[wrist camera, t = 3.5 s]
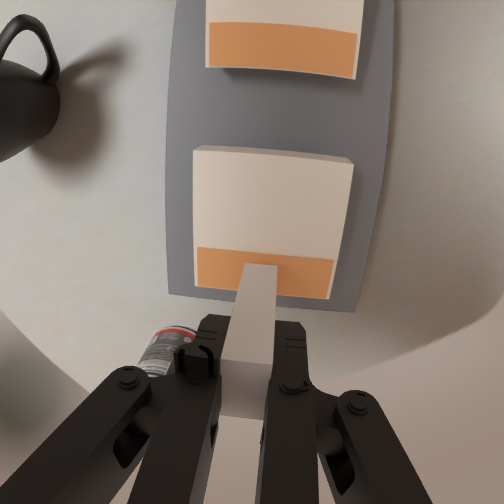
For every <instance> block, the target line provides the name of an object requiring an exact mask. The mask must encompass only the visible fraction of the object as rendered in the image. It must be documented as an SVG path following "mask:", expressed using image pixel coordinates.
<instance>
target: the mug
mask: <svg viewBox="0 0 504 504" xmlns="http://www.w3.org/2000/svg"><path fill="white" fill-rule="evenodd" d="M23 30H31V31H33V32H34V33H35V34H36V35H37V36H38V38H39V39H40V41H41V43H42V45H43V47H44V49H45V52H46V56H47V67H46V70H45V71H44V73H43V74H42V76H41V75H40V74H38V73H36V72H34V71H33V70H31V69H29V68H27V67H25V66H22V65H20V64H17V63H14V62H11V61H7V60H3V59H2V58H3V56H4V53H5V51H6V49H7V48H8V46H9V44H10V43H11V41H12V40H13V39H14V37H15V36H16V35H17V34H18V33H20V32H21V31H23ZM59 73H60V66H59V62H58V59H57V56H56V53H55V51H54V48H53V45H52V42H51V40H50V37H49V35H48V32H47V30H46V28H45V26H44V25H43V24H42V23H41V22H40V21H39V20H38V19H37V18H35V17H32V16H30V15H26V14H21V15H18V16H16V17H14V18H13V19H12V20H11V21H10V22H9V23H8V24H7V25H6V27H5V28H4V29H3V31H2V32H1V34H0V162H2V161H5V160H7V159H9V158H10V157H12V156H14V155H16V154H18V153H19V152H21V151H23V150H24V149H26V148H27V147H29V146H30V145H31V144H33V143H34V142H36V141H37V140H39V139H41V138H43V137H44V136H45V135H47V134H48V133H49V132H50V131H51V129H52V128H53V126H54V124H55V122H56V120H57V117H58V113H59V107H60V99H59V93H58V90H57V88H56V86H55V83H56V81H57V79H58V77H59Z"/></svg>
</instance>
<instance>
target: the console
mask: <svg viewBox="0 0 504 504" xmlns="http://www.w3.org/2000/svg"><path fill="white" fill-rule="evenodd" d="M394 17H395V0H364V6H363V17H362V27H361V37H360V46H359V54H358V63H357V70H356V78H355V80H354V79H348V78H342V77H335V76H329V75H321V74H313V73H305V72H295V71H285V70H272V69H255V68H221V67H209V68H205V34H206V0H177V3H176V11H175V20H174V29H173V38H172V48H171V60H170V72H169V87H168V104H167V125H166V163H165V210H166V249H167V271H168V289H169V294H174V295H181V296H189V297H197V298H205V299H213V300H222V301H231V302H235V299H236V295H237V292H238V291H234V290H225V289H216V288H207V287H199V286H195V280H194V248H193V150H194V149H196V148H198V147H199V146H201V145H213V146H233V147H249V148H262V149H274V150H285V151H295V152H305V153H314V154H322V155H330V156H337V157H345V158H348V159H349V160H350V161H351V162H352V163H353V164H354V168H353V175H352V181H351V188H350V194H349V200H348V206H347V212H346V218H345V223H344V229H343V234H342V240H341V245H340V250H339V255H338V260H337V265H336V270H335V274H334V279H333V284H332V288H331V293H330V297H329V299H318V298H306V297H295V296H284V295H276V306H280V307H290V308H302V309H314V310H327V311H340V312H355V309H356V305H357V301H358V297H359V293H360V289H361V285H362V281H363V277H364V272H365V268H366V263H367V259H368V254H369V249H370V244H371V239H372V234H373V229H374V224H375V218H376V213H377V207H378V201H379V195H381V189H382V183H383V176H384V169H385V162H386V154H387V146H388V144H387V136H388V127H389V116H390V105H391V92H392V75H393V51H394Z"/></svg>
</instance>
